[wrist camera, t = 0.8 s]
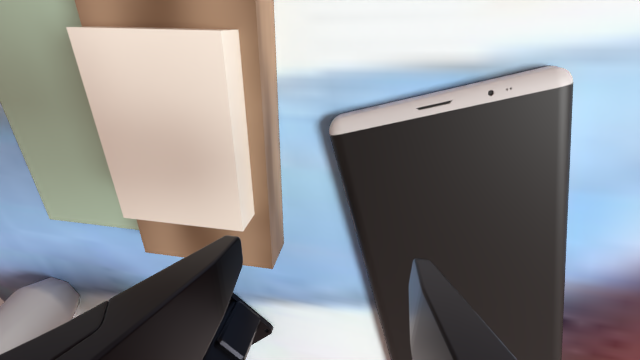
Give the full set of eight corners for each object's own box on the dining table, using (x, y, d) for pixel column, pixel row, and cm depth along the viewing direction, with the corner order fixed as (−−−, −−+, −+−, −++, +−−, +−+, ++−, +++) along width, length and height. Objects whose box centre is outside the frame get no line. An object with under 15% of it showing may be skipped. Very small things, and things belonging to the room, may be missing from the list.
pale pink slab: (254, 214, 21) (243, 231, 19) (143, 202, 22) (123, 217, 21) (238, 29, 16) (221, 30, 15) (98, 26, 17) (66, 27, 16)
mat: (116, -63, 18) (109, -66, 18) (179, 230, 27) (176, 234, 27) (-59, -60, 20) (-69, -62, 19) (55, 216, 29) (50, 219, 28)
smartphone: (398, 377, 32) (399, 396, 30) (327, 114, 21) (323, 122, 20) (552, 376, 28) (562, 397, 27) (561, 60, 18) (578, 64, 16)
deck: (270, -67, 17) (249, -83, 14) (283, 243, 26) (272, 268, 23) (100, -63, 18) (52, -77, 16) (168, 229, 27) (145, 252, 24)
